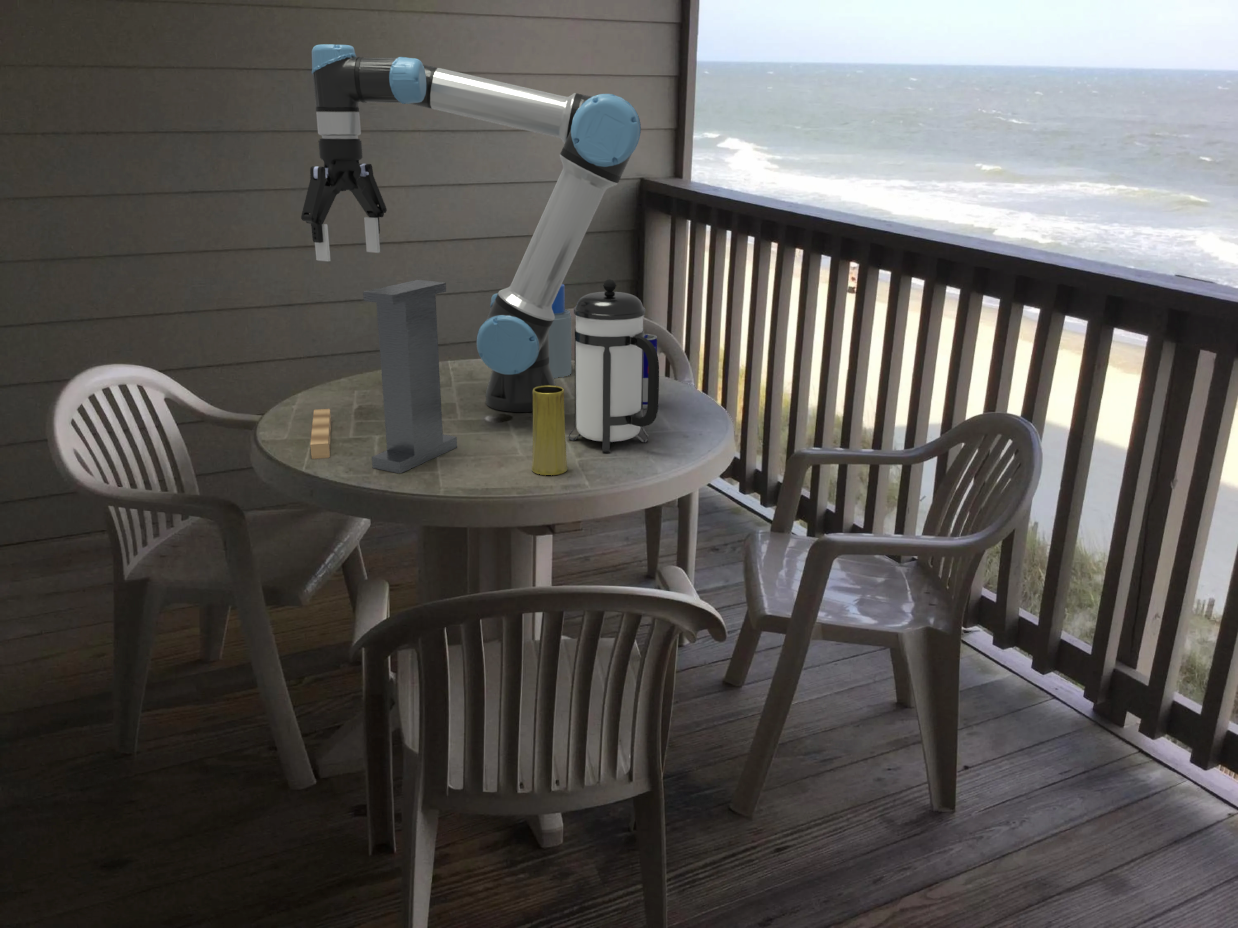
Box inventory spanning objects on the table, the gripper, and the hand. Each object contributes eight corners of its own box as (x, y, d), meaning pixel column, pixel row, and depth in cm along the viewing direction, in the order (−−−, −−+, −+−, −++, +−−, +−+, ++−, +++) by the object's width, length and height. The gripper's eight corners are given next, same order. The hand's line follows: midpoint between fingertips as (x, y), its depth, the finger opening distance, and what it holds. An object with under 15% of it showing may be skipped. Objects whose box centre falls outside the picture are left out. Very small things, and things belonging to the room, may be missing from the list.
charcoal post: (372, 467, 170) (358, 292, 160) (430, 442, 183) (421, 279, 173) (400, 473, 167) (388, 296, 157) (457, 447, 181) (449, 282, 171)
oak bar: (315, 424, 194) (313, 409, 193) (331, 423, 195) (329, 408, 194) (311, 460, 174) (310, 444, 173) (329, 459, 175) (328, 443, 174)
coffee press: (560, 453, 178) (558, 285, 168) (576, 426, 193) (575, 271, 183) (656, 458, 176) (660, 289, 166) (665, 431, 191) (669, 274, 181)
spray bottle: (577, 370, 235) (576, 264, 226) (563, 379, 227) (562, 269, 218) (542, 367, 237) (540, 261, 229) (527, 376, 229) (524, 267, 221)
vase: (531, 464, 172) (529, 384, 168) (566, 463, 173) (566, 384, 168) (531, 476, 167) (530, 394, 162) (568, 475, 167) (567, 394, 162)
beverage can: (653, 410, 204) (655, 338, 199) (629, 408, 205) (630, 337, 200) (657, 403, 209) (659, 333, 204) (633, 402, 210) (634, 332, 205)
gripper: (369, 135, 191) (377, 247, 199) (272, 138, 171) (285, 263, 178) (400, 136, 188) (407, 250, 195) (305, 139, 167) (316, 266, 174)
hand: (349, 256), depth 186 cm, fingers open, 13 cm apart
